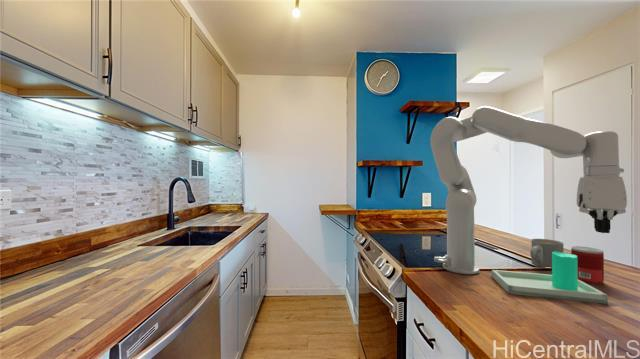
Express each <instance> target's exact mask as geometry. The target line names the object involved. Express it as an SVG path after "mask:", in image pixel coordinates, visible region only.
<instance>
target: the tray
mask: <svg viewBox="0 0 640 359" xmlns="http://www.w3.org/2000/svg"><path fill="white" fill-rule="evenodd" d="M491 277H492V279H493V280H494V281H496V283H498V285H499V286H501V287H502V289H504V291H505V292H507V293H508V294H509V295H510V294H511V295H518V296H527V297H528V296H529V297H538V298H549V299H557V300H565V301H567V300H568V301H577V302H584V303H585V302H586V303H594V304H595V303H596V304H604V305H607V304H609V303H608V302H609V301H608V300H609V299H608V294H606V293H605V292H602V291H601V290H599V289H598V288H595V287H594V286H592V285H589V283H585V282H582V281H580V280H578V291H573V290H562V289H558V288H555V287H554V286H552V274H547V273H538V272H537V273H535V272H534V273H533V272H525V271H524V272H523V271H510V270H500V269H491Z"/></svg>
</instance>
